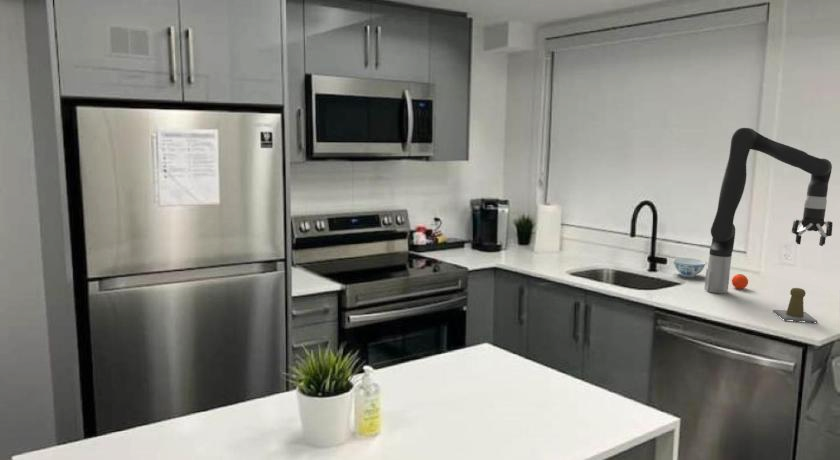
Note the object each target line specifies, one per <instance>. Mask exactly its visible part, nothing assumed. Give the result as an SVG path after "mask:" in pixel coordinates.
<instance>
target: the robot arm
mask: <svg viewBox="0 0 840 460" xmlns="http://www.w3.org/2000/svg"><path fill="white" fill-rule="evenodd" d="M751 150H753V151H756V152H757V151H758V152H761V153H763V154H766V155H767V156H770V157H772V158H774V159H775V160H777V161H779V162H781V163H784V164H787V165H789V166H791V167H795V168H798V169H800V170H802V171H803V172H806V173H808V174H810V182H809V183H808V186H807V189H806V190H807V191H806V197H805V201H804V205H803V206H804V207H803V214H802V219H801V220H800V219H797V218H796V219H794V220H793V223H792V227H791V228H792V229H791V233H792V234H794V235H795V243H796V244H797V245H801V242H802V235H803V234H804V233H806V232H812V231H813V232H818V233H819V234H820V237H819V242H818V245H819V246H821V247H824V246H825V244H826V240H827V239H826V238H827V237H832V235H833V221H830V220H827V221H825V217H826V209H827V204H828V203H827V202H828V201H827V197H828V190H829V189H828V188H829V182H830V178H831V174H832V168H833V167H832V166H833V164H832V162H831V161H830V160H829V159H827V158H820V157H816V156H814V155H810V154H808V153H807V152H805V151H803V150H801V149H798V148H796V147H793V146H790V145H786V144H784V143H781V142H778V141H775V140H773V139H770V138H768V137H766V136H764V135H762V134H761V133H759V132H757V131H756V130H754V129H753V128H750V127H740V128H737V129H736V130H735V131H734V132H733V133H732V135H731V138H730V149H729V155H728V159H727V160H728V161H727V163H726V168H725V171H724V174H723V178H722V181H721V186H720V190H719V191H720V192H719V198H718V204H717V210H716V213H715V216H714V220H713V222H712V225H711V228H710V235H711V237H712V238H711V239H712V241H711V245H710V248H709V254H708V255H709V256H708V263H707V265H708V266H707V268H706V270H705V279H704V289H705V290H706V292H709V293H713V294H714V293H715V294H727V293H728V291H729V284H730V274H731V263H732V255H733V250H734V244H735V239H736V238H735V237H736V227H735V224H734V219H735V215H736V211H737V209H738V207H739V205H740V202H741V200H742V198H743V195H744V191H745V187H746V183H747V161H748V156H749V154H750V151H751ZM800 225H802V226H801V227H800V228H799V226H800ZM824 226H825V227H826V228H825V229H826V231H825V230H824V229H823V227H824ZM798 229H799V230H798Z"/></svg>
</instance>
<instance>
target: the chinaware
mask: <svg viewBox="0 0 840 460" xmlns="http://www.w3.org/2000/svg"><path fill="white" fill-rule="evenodd" d="M672 260H673V264H674V268H675V269H676V271H677V272H678V273H680V276H682V277H685V278H695V277H696V275H698V274H700V273H701V272H702V271H703V270H704V268H705V266H706V261H704V260H701V259H697V258H691V257H675V258H673V259H672Z"/></svg>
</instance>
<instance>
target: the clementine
mask: <svg viewBox="0 0 840 460" xmlns="http://www.w3.org/2000/svg"><path fill="white" fill-rule="evenodd" d="M731 285H732V286H733V287H734V288H736V289H737V290H742V289H745V288H746V287H748V285H749V279H748V277H747V276H746V275H745V274H743V273H738V274H735V275H734V276H733V277H732V278H731Z"/></svg>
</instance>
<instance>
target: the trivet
mask: <svg viewBox="0 0 840 460" xmlns="http://www.w3.org/2000/svg"><path fill="white" fill-rule="evenodd" d="M786 312H787V309H786V310H785V309H784V310H782V309H772V313H774V314H775V313H776V314H777V315H778V316H780V317H781V318H782V319H784V320H793V321H805V322H816V323H817V324H818V319H815V318H814V317H813V316H812V315H810V314H809V313H807V312H806V311H804V316H803V317H793V316H789V315H787V314H786ZM776 314H775V315H776ZM777 315H776V316H777ZM778 316H777V317H778ZM780 317H779V318H780ZM781 318H780V319H781ZM782 319H781V320H782ZM816 323H815V324H816Z"/></svg>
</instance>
